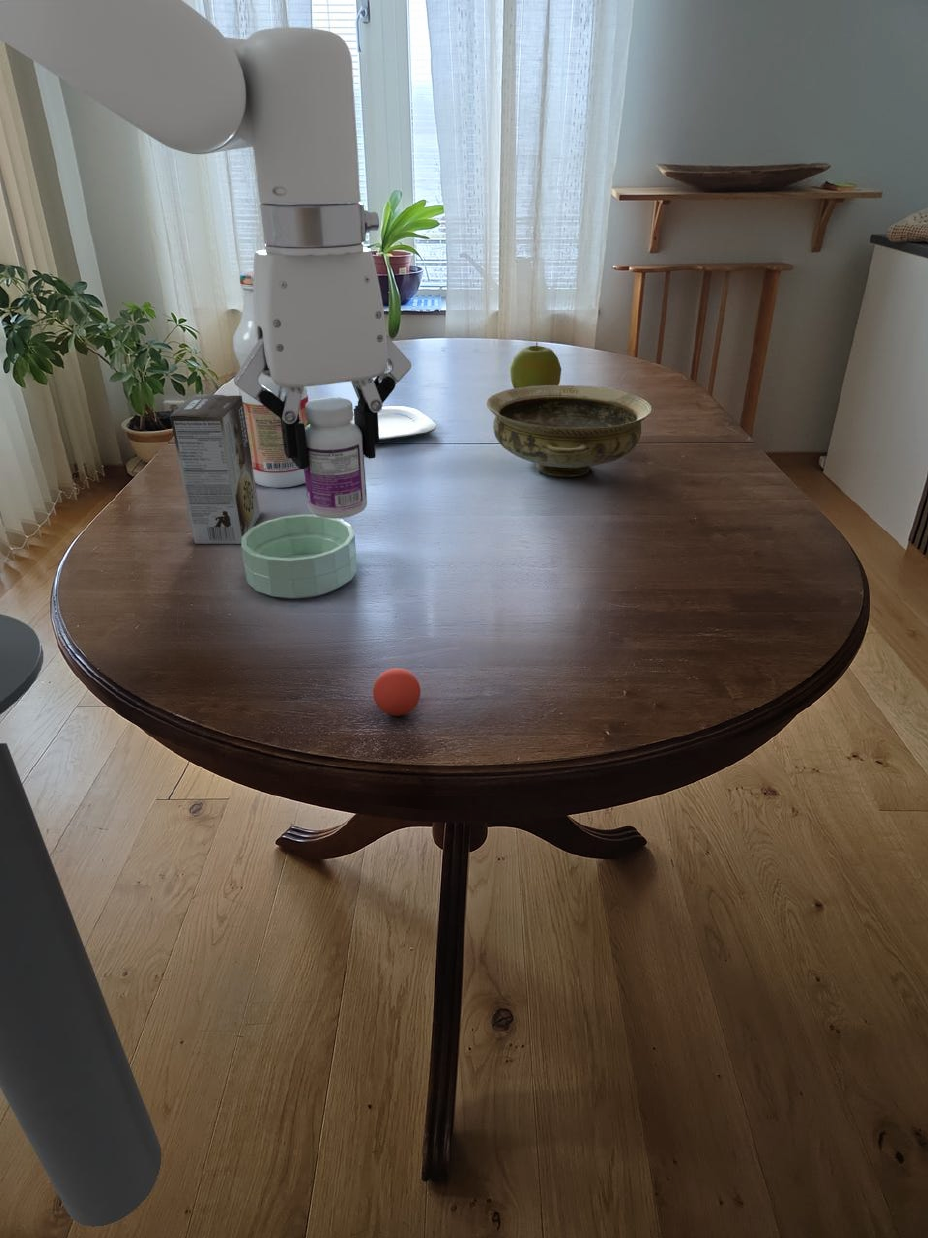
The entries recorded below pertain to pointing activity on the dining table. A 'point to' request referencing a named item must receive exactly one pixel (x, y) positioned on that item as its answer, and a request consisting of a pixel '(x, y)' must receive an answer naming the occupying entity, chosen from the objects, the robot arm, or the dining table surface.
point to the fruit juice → (264, 410)
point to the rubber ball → (396, 691)
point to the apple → (535, 367)
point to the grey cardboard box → (216, 467)
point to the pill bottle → (334, 459)
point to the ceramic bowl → (567, 425)
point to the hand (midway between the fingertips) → (333, 457)
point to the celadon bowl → (299, 556)
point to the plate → (402, 423)
